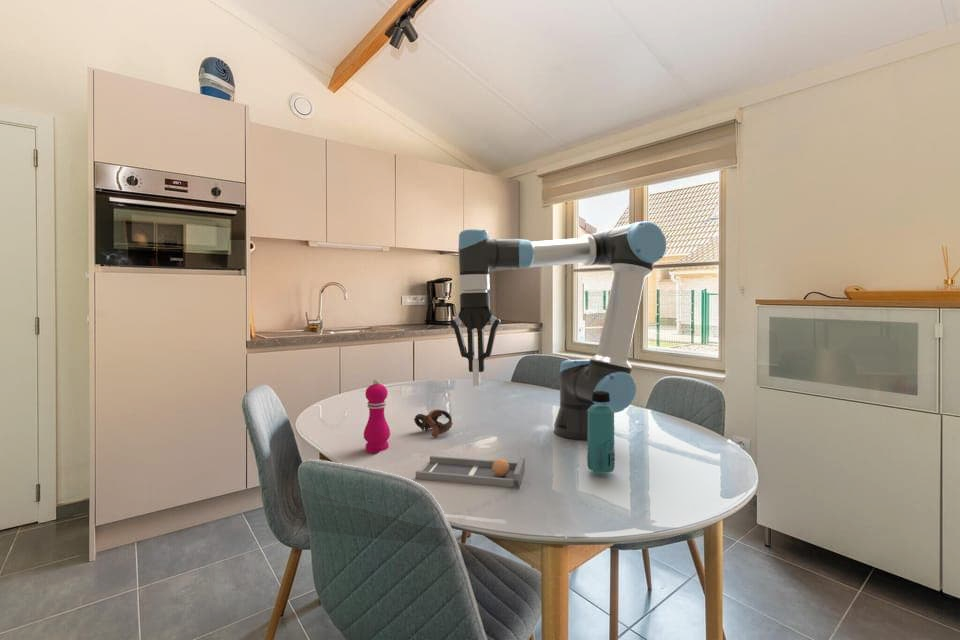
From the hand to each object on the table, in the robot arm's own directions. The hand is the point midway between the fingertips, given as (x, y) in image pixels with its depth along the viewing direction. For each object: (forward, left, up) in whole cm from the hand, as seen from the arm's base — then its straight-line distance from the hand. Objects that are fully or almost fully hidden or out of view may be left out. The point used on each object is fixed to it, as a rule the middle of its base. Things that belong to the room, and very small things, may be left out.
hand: (476, 384), depth 115 cm
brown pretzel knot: (+19, -22, -21) cm, 35 cm away
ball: (-7, +9, -20) cm, 23 cm away
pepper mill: (+29, -4, -20) cm, 36 cm away
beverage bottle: (-31, +1, -20) cm, 37 cm away
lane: (-1, +9, -20) cm, 22 cm away
